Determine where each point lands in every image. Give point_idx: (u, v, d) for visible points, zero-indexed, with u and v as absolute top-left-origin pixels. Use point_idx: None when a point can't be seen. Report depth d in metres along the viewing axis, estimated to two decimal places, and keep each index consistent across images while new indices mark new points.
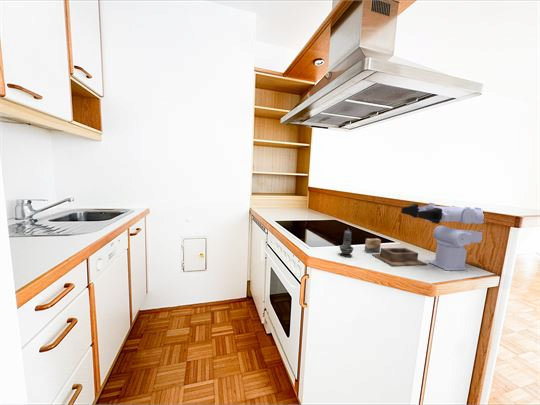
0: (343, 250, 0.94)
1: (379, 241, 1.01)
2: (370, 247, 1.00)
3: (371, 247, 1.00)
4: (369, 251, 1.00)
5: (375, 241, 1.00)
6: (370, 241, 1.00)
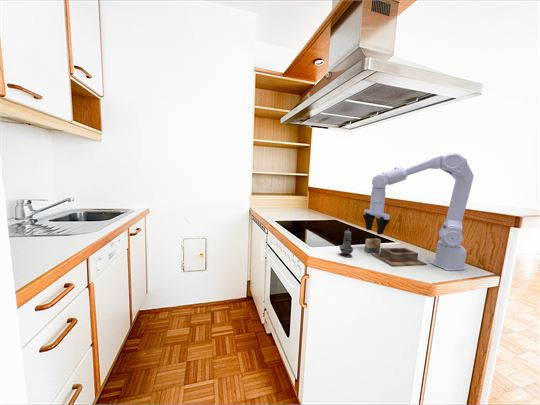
0: (343, 250, 0.94)
1: (379, 241, 1.01)
2: (370, 247, 1.00)
3: (371, 247, 1.00)
4: (369, 251, 1.00)
5: (375, 241, 1.00)
6: (370, 241, 1.00)
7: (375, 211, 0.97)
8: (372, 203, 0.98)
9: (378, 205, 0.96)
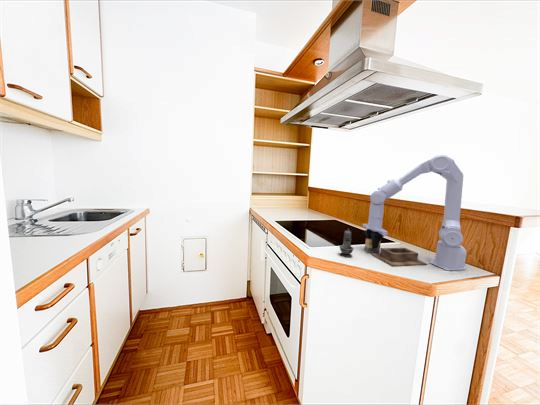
0: (343, 250, 0.94)
1: None
2: (370, 247, 1.00)
3: (371, 247, 1.00)
4: (369, 251, 1.00)
5: None
6: (370, 241, 1.00)
7: (373, 227, 0.98)
8: (370, 219, 0.99)
9: (376, 221, 0.97)
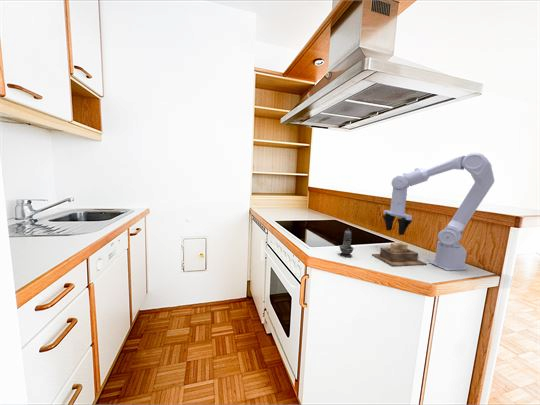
0: (343, 250, 0.94)
1: (406, 246, 0.92)
2: (396, 252, 0.91)
3: (397, 252, 0.91)
4: None
5: (401, 246, 0.91)
6: (396, 246, 0.91)
7: (396, 212, 0.98)
8: (393, 204, 0.99)
9: (399, 206, 0.98)
